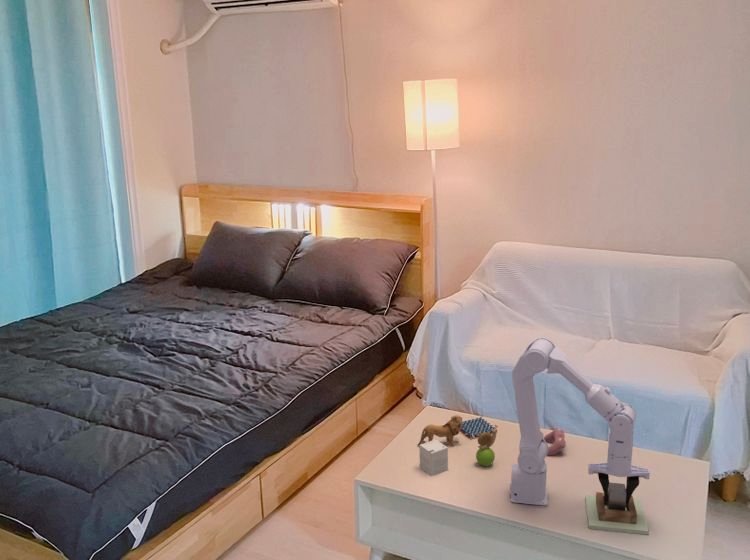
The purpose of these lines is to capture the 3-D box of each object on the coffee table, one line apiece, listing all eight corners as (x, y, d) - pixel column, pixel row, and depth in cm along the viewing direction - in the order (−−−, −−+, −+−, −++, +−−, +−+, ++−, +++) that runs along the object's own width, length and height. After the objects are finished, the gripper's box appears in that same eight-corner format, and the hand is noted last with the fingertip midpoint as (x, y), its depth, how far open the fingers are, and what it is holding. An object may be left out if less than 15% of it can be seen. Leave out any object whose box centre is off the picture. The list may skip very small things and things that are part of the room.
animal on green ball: (501, 466, 206) (502, 428, 203) (481, 470, 203) (482, 433, 200) (491, 457, 211) (492, 421, 207) (472, 462, 208) (473, 425, 205)
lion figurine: (459, 437, 223) (459, 411, 221) (465, 445, 218) (465, 418, 216) (415, 443, 220) (414, 417, 218) (419, 451, 215) (419, 424, 213)
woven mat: (452, 428, 230) (452, 422, 230) (480, 421, 235) (480, 415, 234) (469, 441, 221) (469, 436, 221) (498, 434, 225) (498, 429, 225)
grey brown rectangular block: (607, 515, 179) (609, 491, 177) (606, 505, 183) (608, 482, 181) (624, 516, 179) (626, 492, 177) (622, 507, 182) (624, 483, 180)
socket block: (588, 528, 176) (589, 516, 175) (585, 497, 189) (585, 486, 188) (648, 534, 173) (649, 522, 172) (640, 502, 186) (641, 491, 185)
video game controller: (557, 461, 210) (569, 443, 208) (543, 454, 211) (555, 436, 208) (555, 445, 220) (566, 428, 218) (542, 438, 220) (553, 421, 218)
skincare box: (435, 461, 209) (435, 438, 208) (448, 469, 205) (448, 447, 203) (419, 467, 206) (418, 444, 204) (431, 476, 201) (431, 453, 199)
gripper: (648, 447, 178) (644, 494, 182) (588, 442, 181) (585, 489, 185) (652, 461, 172) (648, 510, 175) (590, 455, 175) (587, 504, 178)
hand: (616, 500), depth 180 cm, fingers open, 4 cm apart
